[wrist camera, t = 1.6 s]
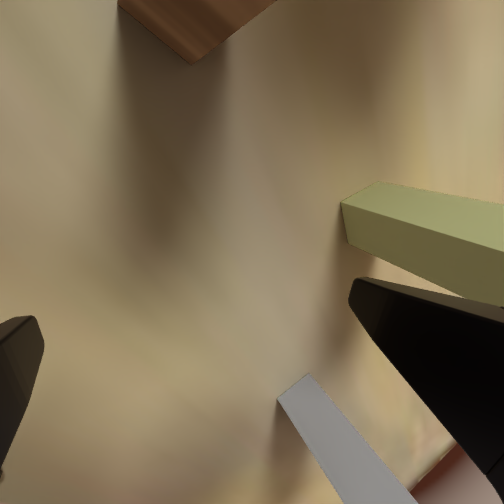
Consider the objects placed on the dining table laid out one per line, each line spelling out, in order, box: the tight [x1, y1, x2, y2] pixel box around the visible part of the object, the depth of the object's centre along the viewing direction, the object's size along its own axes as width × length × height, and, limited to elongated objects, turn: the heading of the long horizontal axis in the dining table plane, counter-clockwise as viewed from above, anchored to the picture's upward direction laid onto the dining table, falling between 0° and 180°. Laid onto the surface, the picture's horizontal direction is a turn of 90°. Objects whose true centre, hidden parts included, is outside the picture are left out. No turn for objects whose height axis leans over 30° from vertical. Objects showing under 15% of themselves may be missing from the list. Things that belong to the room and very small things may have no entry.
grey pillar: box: [277, 373, 418, 504], centre depth 25 cm, size 4×4×13 cm
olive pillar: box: [341, 181, 504, 307], centre depth 19 cm, size 4×4×13 cm
